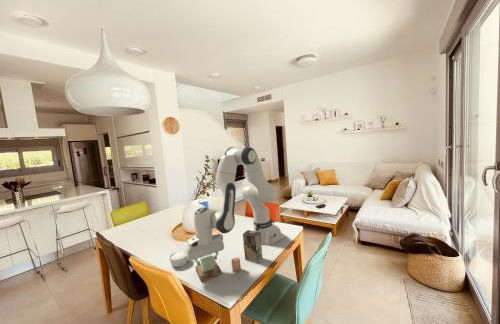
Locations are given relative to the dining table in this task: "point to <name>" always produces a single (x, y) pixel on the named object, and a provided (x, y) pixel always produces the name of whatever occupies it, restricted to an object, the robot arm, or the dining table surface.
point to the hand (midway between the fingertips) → (207, 262)
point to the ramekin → (178, 258)
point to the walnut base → (208, 272)
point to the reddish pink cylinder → (236, 265)
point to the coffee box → (252, 246)
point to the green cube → (207, 262)
